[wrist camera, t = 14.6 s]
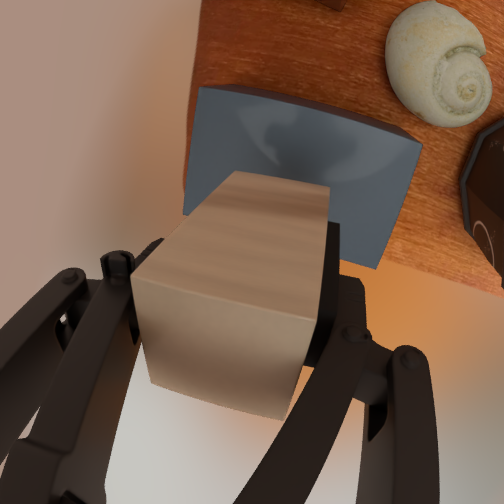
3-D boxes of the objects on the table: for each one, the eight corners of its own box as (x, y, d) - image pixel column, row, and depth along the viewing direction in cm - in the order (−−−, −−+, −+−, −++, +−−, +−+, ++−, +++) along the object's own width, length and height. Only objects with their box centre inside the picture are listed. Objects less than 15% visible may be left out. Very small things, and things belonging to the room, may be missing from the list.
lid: (375, 265, 28) (375, 269, 27) (186, 211, 30) (182, 214, 29) (420, 142, 22) (423, 144, 21) (202, 86, 24) (198, 86, 23)
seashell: (515, 125, 19) (422, 138, 21) (474, 121, 26) (395, 133, 29) (474, -11, 15) (375, -12, 17) (442, 10, 22) (358, 16, 24)
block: (234, 170, 17) (129, 275, 8) (330, 186, 16) (317, 321, 8) (229, 251, 19) (150, 383, 11) (313, 268, 18) (283, 421, 10)
